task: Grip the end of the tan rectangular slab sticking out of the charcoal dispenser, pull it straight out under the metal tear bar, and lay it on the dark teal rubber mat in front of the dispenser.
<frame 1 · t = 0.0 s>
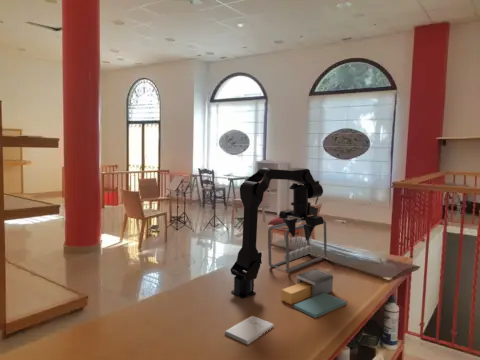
hand: (300, 238, 148), 15 cm above the table, tool pointing down, fingers open, 7 cm apart
newton's cradle: (298, 263, 166), on the table, touching gripper
external hard drive: (249, 333, 107), on the table
mat: (320, 305, 124), on the table
tan rectangular slab: (298, 297, 130), on the table
dispenser: (314, 291, 136), on the table
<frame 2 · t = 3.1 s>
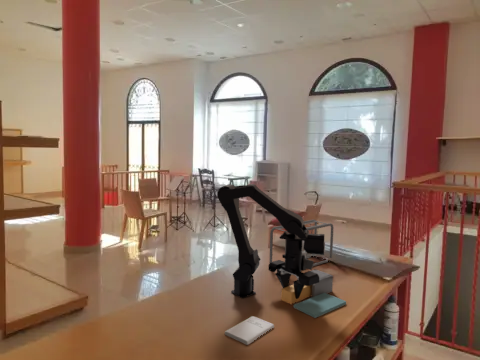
hand: (292, 296, 128), 1 cm above the table, tool pointing down, fingers closed on tan rectangular slab, 4 cm apart
newton's cradle: (301, 265, 165), on the table
tan rectangular slab: (298, 297, 130), on the table, touching gripper
everything else where it was.
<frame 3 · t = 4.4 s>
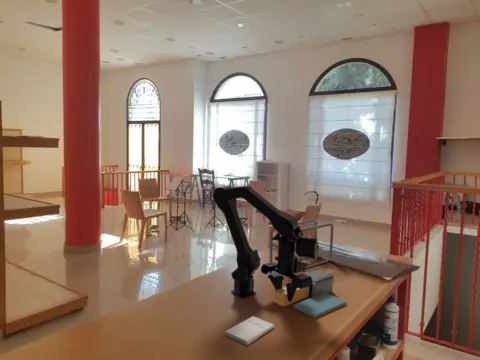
hand: (284, 298, 126), 1 cm above the table, tool pointing down, fingers closed on tan rectangular slab, 4 cm apart
tan rectangular slab: (291, 299, 128), on the table, touching gripper
everything else where it was.
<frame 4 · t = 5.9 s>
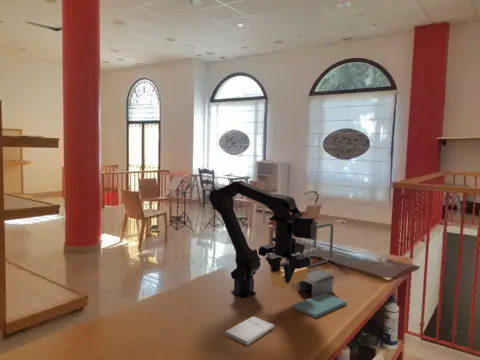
hand: (282, 280, 124), 8 cm above the table, tool pointing down, fingers closed on tan rectangular slab, 4 cm apart
tan rectangular slab: (289, 281, 126), point 7 cm above the table, touching gripper
everything else where it was.
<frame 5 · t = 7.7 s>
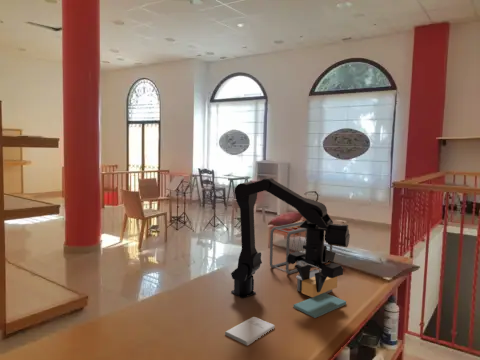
hand: (312, 289, 120), 7 cm above the table, tool pointing down, fingers closed on tan rectangular slab, 4 cm apart
tan rectangular slab: (319, 290, 123), point 6 cm above the table, touching gripper
everything else where it was.
when the fingers open (4 cm above the table, at t = 8.9 s): tan rectangular slab drops 2 cm, resting on mat.
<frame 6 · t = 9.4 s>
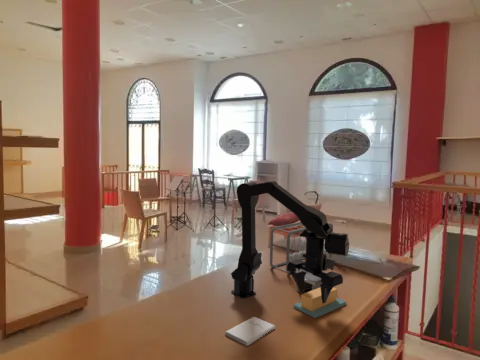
hand: (312, 297, 121), 4 cm above the table, tool pointing down, fingers open, 9 cm apart
tan rectangular slab: (319, 303, 123), point 1 cm above the table, touching mat
everything else where it was.
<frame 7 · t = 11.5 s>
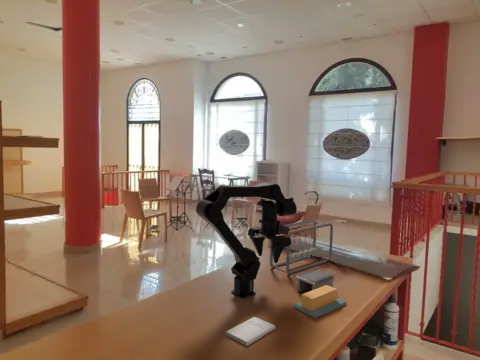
hand: (267, 259, 137), 11 cm above the table, tool pointing down, fingers open, 9 cm apart
nothing on the table moved.
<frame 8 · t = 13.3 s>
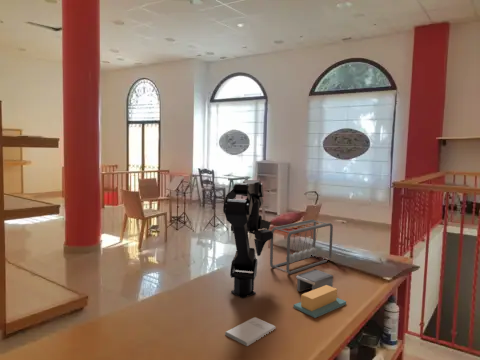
hand: (250, 252, 144), 11 cm above the table, tool pointing down, fingers open, 9 cm apart
nothing on the table moved.
at the end: tan rectangular slab inside the target area on the mat (0.5 cm from its centre), point 1.0 cm above the mat's base; the gripper is holding nothing; tan rectangular slab tilted 0° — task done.
